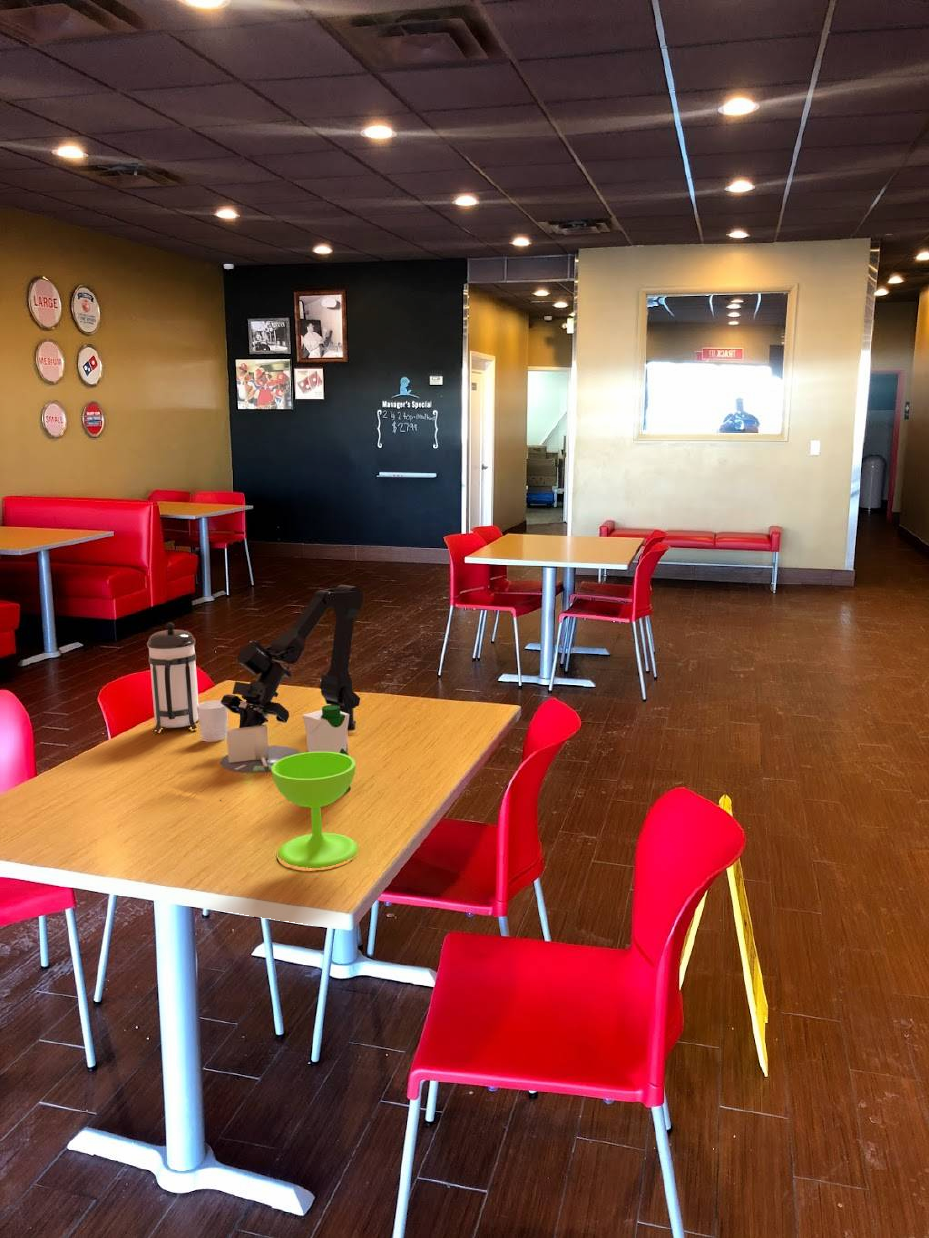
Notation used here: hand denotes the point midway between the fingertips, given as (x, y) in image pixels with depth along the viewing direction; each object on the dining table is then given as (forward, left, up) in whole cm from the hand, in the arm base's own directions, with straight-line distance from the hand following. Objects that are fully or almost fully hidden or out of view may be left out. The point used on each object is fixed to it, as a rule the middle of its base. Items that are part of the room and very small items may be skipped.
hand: (240, 738), depth 238 cm
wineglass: (+55, +23, -7) cm, 60 cm away
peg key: (+5, +3, -5) cm, 8 cm away
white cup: (-19, -10, -7) cm, 22 cm away
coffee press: (-31, -22, -7) cm, 38 cm away
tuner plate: (0, +5, -6) cm, 8 cm away
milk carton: (+21, +23, -7) cm, 32 cm away
